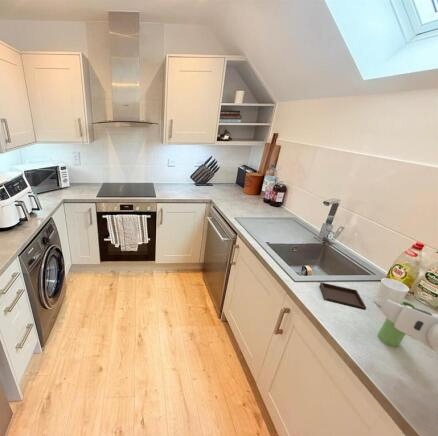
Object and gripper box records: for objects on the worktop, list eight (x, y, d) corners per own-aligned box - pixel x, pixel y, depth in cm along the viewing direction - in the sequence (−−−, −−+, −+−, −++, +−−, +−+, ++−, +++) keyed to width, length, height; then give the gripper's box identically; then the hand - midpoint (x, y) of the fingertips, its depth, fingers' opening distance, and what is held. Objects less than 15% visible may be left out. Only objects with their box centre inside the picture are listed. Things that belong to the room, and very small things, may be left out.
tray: (354, 294, 102) (356, 290, 101) (364, 312, 93) (366, 307, 92) (319, 286, 107) (320, 282, 106) (325, 302, 97) (326, 298, 96)
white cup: (367, 297, 100) (376, 277, 96) (386, 297, 100) (396, 278, 96) (383, 311, 93) (393, 291, 89) (403, 311, 93) (415, 291, 89)
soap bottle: (392, 339, 81) (414, 301, 74) (399, 352, 77) (424, 313, 70) (373, 334, 83) (393, 297, 76) (379, 346, 79) (401, 308, 72)
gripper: (532, 354, 48) (485, 328, 60) (399, 303, 58) (381, 289, 70) (515, 380, 49) (472, 349, 61) (387, 325, 59) (371, 308, 71)
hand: (422, 316), depth 65 cm, fingers open, 8 cm apart
